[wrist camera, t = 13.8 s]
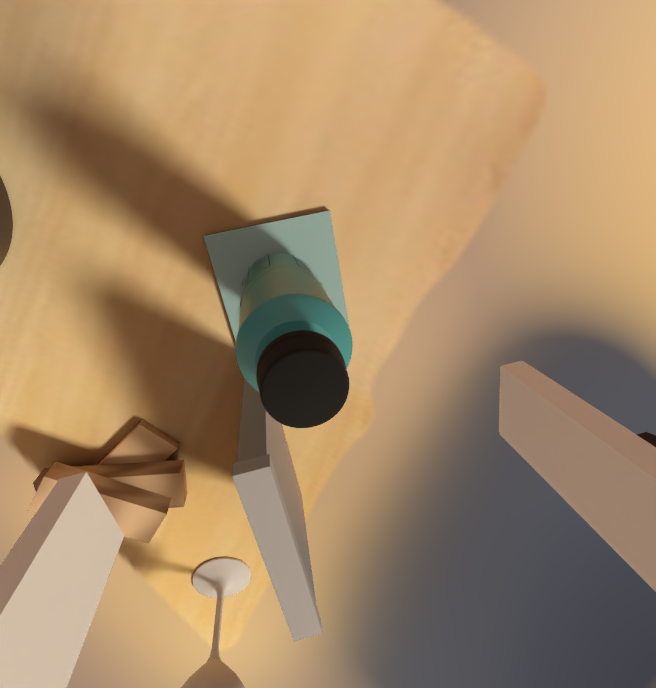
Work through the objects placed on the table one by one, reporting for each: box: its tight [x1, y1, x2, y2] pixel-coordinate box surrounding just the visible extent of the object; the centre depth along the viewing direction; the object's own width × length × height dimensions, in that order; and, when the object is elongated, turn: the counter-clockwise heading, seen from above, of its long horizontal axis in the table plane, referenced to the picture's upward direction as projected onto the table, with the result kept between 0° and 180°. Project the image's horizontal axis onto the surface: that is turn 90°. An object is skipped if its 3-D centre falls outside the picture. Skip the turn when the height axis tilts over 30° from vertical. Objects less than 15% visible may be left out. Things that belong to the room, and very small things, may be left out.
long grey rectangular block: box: [232, 378, 322, 641], centre depth 33 cm, size 18×2×15 cm, turn 10°
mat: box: [203, 210, 349, 341], centre depth 34 cm, size 11×11×1 cm
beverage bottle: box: [235, 254, 352, 428], centre depth 24 cm, size 6×7×20 cm
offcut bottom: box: [97, 419, 180, 465], centre depth 39 cm, size 14×4×2 cm, turn 133°
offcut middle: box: [33, 460, 187, 508], centre depth 37 cm, size 13×4×2 cm, turn 87°
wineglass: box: [181, 557, 251, 688], centre depth 37 cm, size 8×8×21 cm
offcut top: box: [28, 462, 171, 543], centre depth 35 cm, size 11×4×2 cm, turn 57°
